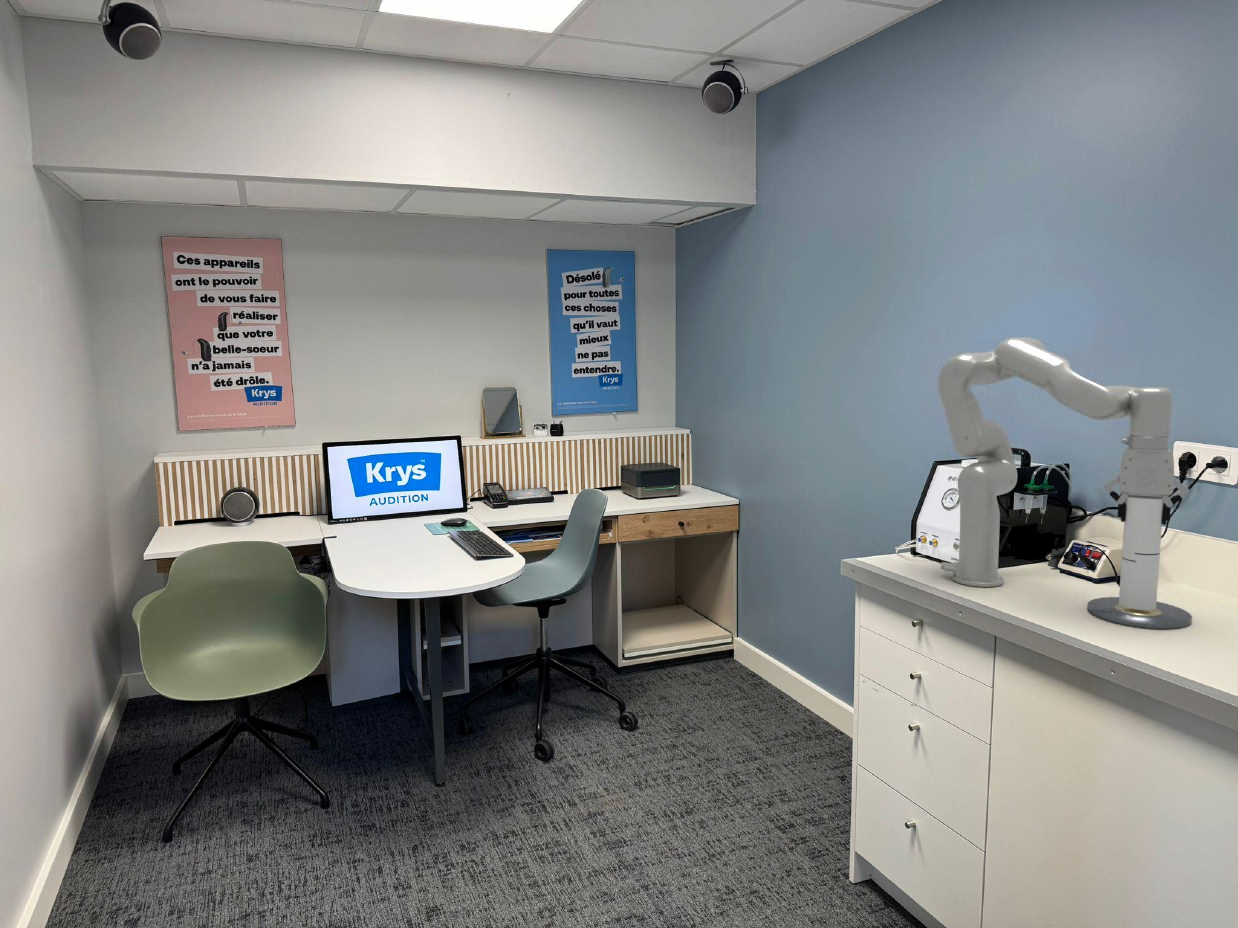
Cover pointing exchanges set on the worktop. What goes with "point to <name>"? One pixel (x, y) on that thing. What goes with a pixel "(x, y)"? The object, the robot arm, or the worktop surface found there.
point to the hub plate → (1140, 614)
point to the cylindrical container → (1141, 552)
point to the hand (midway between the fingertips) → (1142, 521)
